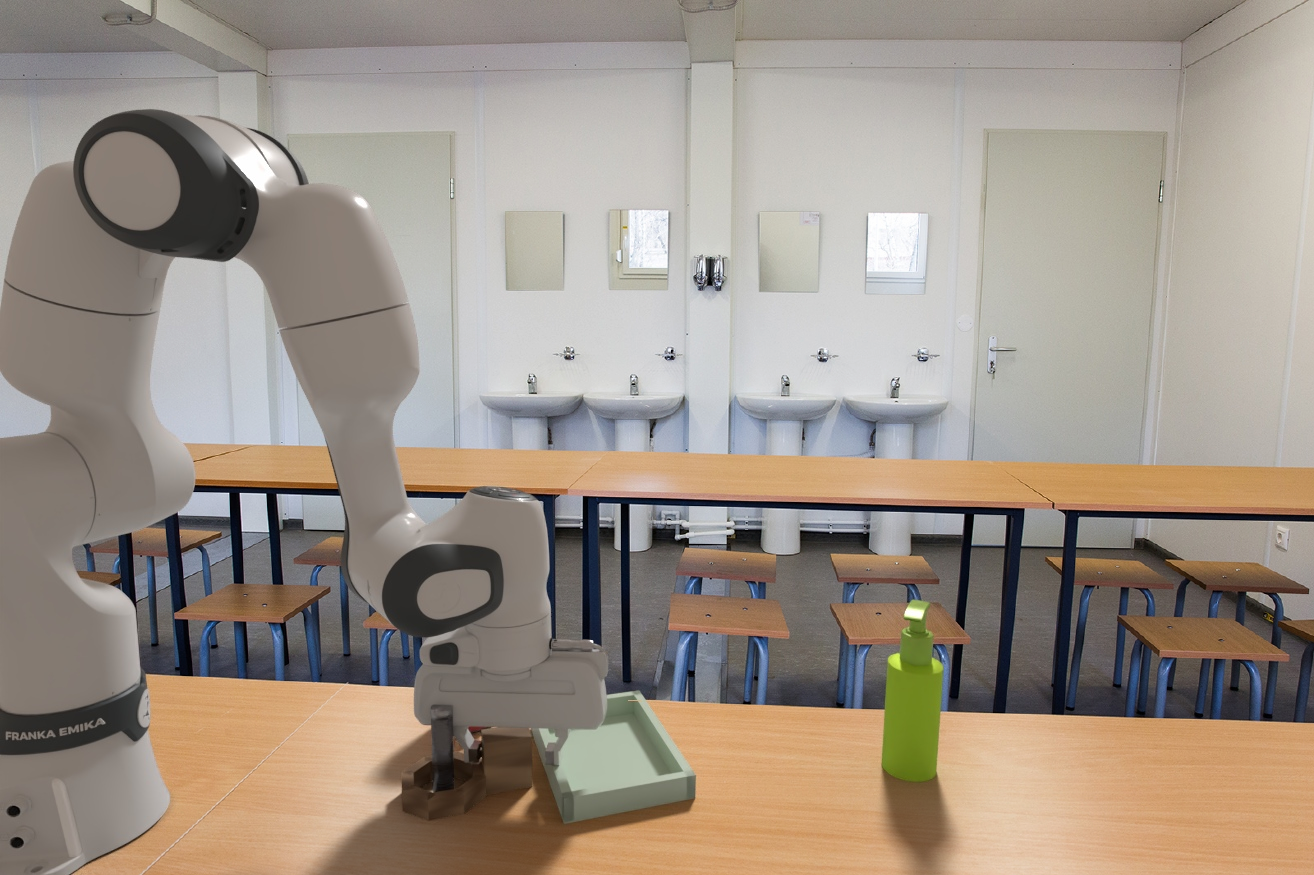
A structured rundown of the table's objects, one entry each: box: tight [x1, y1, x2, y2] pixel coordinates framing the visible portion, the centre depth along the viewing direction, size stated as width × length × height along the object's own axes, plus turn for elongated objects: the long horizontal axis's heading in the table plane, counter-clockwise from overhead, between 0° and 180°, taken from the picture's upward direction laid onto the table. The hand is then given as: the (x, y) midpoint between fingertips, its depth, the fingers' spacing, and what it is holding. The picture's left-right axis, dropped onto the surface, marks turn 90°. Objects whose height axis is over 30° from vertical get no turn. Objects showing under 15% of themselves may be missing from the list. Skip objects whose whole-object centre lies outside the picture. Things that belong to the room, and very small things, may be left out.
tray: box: [530, 690, 697, 825], centre depth 89 cm, size 14×20×3 cm
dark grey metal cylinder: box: [430, 705, 456, 793], centre depth 82 cm, size 2×2×10 cm
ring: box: [400, 727, 533, 822], centre depth 83 cm, size 8×13×6 cm, turn 109°
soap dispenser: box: [881, 599, 944, 783], centre depth 86 cm, size 6×7×20 cm
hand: (513, 761), depth 84 cm, fingers open, 7 cm apart
